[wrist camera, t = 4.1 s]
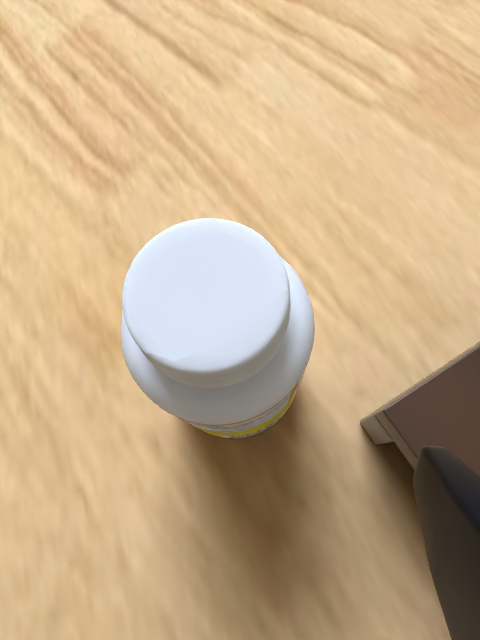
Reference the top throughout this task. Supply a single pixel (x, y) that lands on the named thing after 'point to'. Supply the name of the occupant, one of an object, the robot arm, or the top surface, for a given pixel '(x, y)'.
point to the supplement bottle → (216, 327)
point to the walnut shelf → (435, 413)
